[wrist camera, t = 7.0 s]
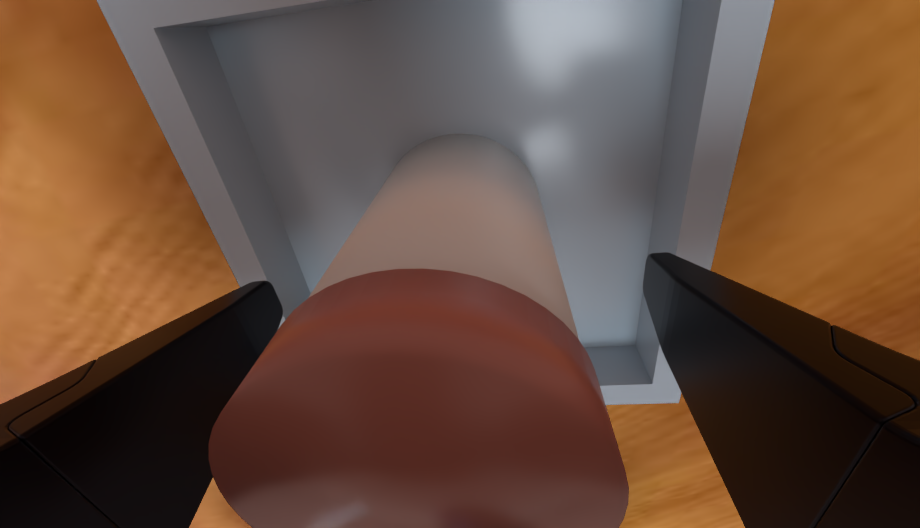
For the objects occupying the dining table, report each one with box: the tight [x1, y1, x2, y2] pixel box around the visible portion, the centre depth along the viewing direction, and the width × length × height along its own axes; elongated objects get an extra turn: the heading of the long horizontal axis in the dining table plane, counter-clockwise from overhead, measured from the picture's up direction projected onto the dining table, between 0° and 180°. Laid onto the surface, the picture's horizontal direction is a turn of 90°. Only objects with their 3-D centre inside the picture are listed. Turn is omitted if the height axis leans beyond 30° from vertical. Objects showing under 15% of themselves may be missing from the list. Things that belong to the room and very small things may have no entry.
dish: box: [97, 0, 775, 405], centre depth 12 cm, size 14×14×2 cm
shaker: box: [209, 133, 629, 528], centre depth 9 cm, size 5×5×9 cm
